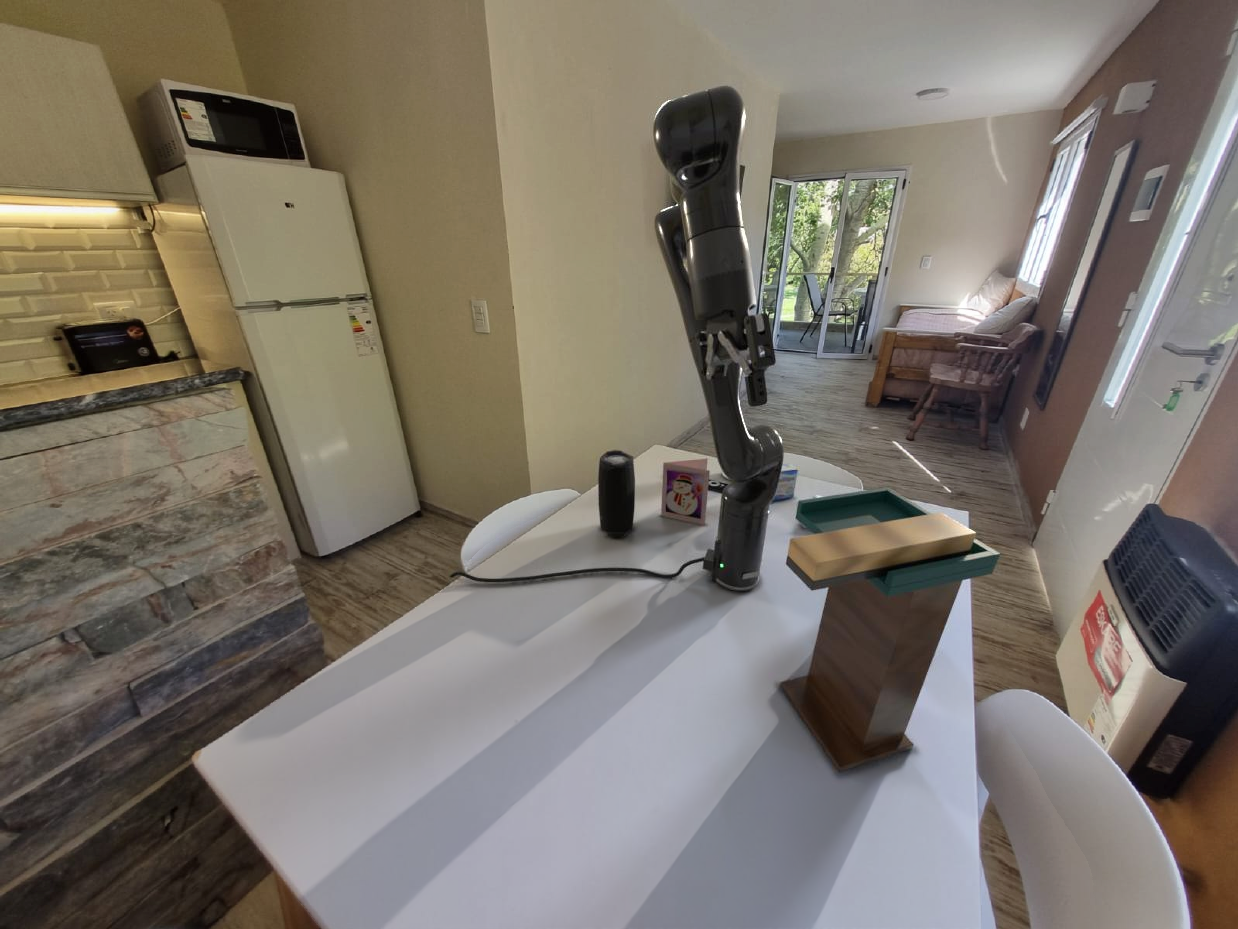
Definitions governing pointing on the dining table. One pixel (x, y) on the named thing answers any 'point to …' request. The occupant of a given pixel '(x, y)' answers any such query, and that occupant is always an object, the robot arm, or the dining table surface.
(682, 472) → the greeting card
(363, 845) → the dining table surface
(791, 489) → the medicine box
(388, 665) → the dining table surface
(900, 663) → the stand
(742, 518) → the robot arm
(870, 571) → the eraser
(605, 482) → the portable speaker
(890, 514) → the tray
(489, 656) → the dining table surface
